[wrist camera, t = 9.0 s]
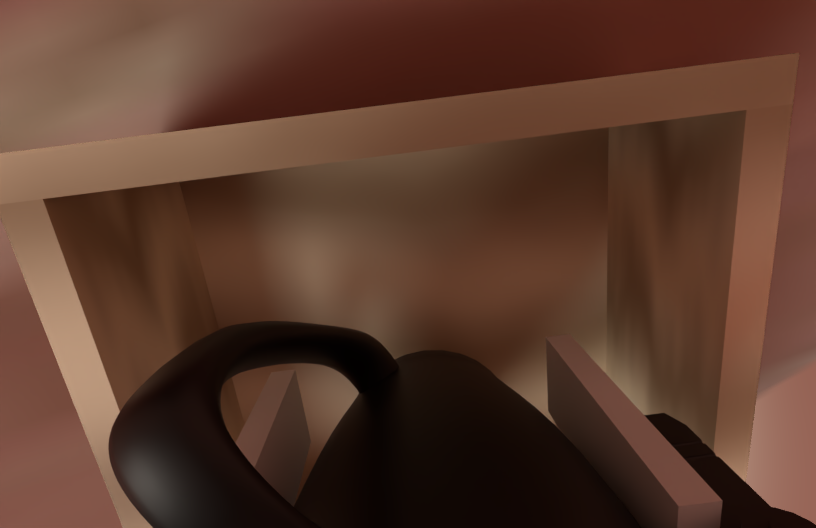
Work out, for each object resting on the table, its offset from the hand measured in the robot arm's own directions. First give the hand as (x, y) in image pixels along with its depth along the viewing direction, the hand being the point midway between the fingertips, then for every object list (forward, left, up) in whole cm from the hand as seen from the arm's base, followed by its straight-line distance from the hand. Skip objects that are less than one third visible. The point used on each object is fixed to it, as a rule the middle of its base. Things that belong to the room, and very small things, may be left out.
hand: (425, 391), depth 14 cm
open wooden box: (0, 0, -4) cm, 4 cm away
